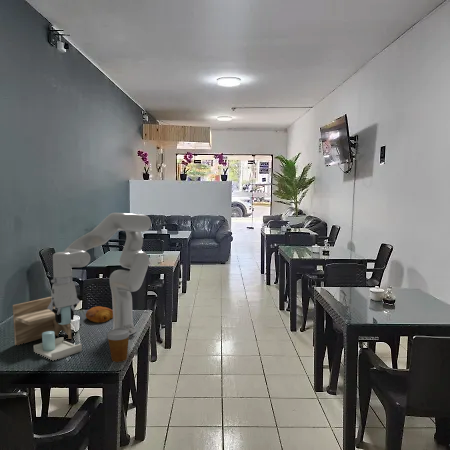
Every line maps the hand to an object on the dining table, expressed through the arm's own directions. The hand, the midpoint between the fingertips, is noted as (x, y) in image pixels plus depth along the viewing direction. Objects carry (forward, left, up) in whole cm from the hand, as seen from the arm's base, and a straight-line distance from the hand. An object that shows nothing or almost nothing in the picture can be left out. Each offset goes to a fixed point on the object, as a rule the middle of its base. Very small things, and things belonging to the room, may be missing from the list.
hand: (64, 320), depth 189 cm
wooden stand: (+21, 0, -15) cm, 25 cm away
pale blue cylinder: (0, 0, -1) cm, 1 cm away
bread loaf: (+29, -38, -15) cm, 50 cm away
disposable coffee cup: (-25, -10, -15) cm, 31 cm away
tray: (+4, +2, -15) cm, 15 cm away
